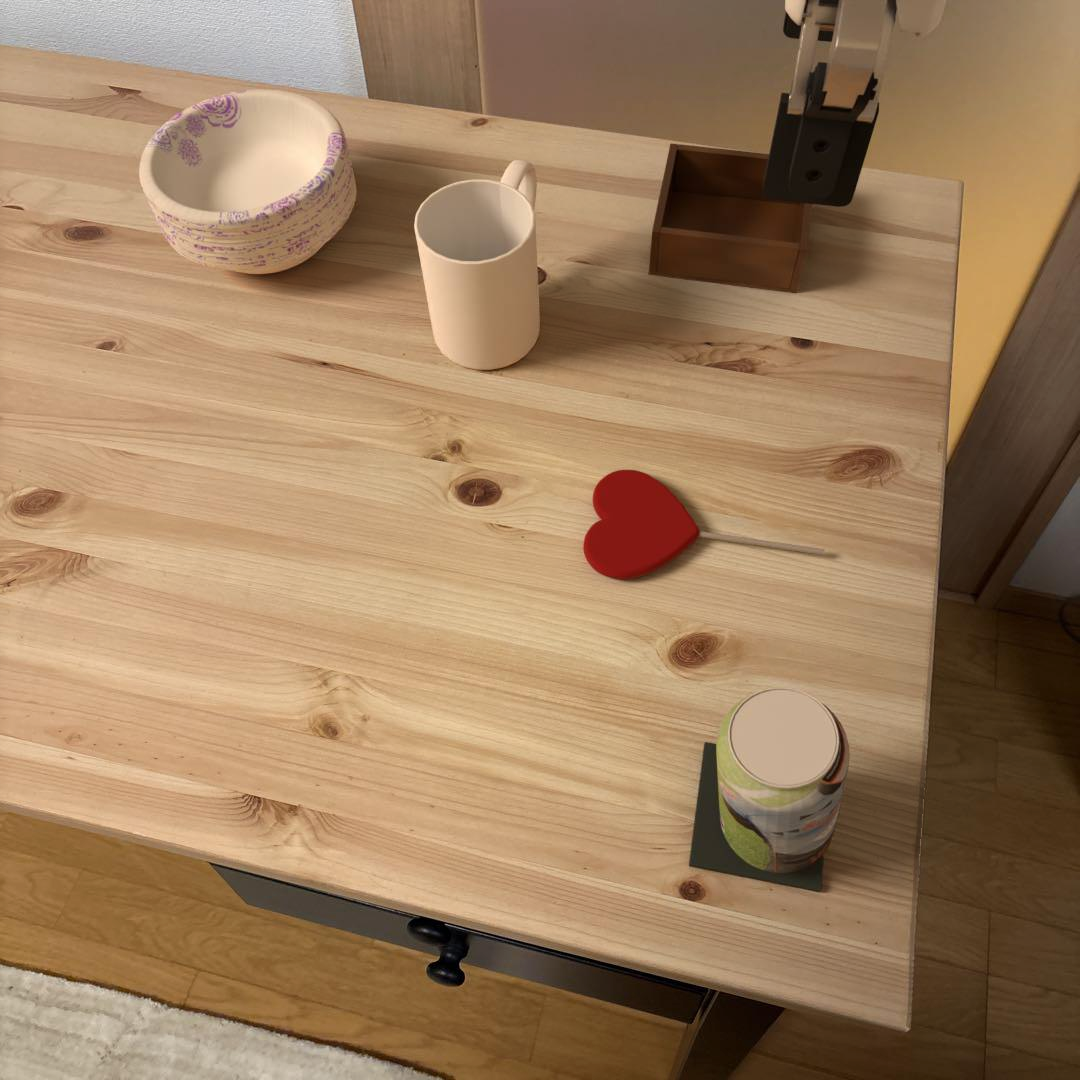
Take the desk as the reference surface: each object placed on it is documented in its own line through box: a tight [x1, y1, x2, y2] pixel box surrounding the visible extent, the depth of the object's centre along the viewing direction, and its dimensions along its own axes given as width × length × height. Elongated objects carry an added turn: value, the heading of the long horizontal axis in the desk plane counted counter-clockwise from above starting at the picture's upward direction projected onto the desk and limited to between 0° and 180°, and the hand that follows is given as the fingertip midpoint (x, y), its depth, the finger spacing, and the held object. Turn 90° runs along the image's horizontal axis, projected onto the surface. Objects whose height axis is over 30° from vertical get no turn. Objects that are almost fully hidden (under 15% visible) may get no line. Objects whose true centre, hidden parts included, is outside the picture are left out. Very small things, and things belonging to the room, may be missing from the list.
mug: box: [413, 159, 541, 371], centre depth 70 cm, size 12×8×10 cm, turn 156°
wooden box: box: [648, 142, 814, 294], centre depth 76 cm, size 11×10×4 cm
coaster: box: [688, 741, 824, 893], centre depth 55 cm, size 7×7×1 cm
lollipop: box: [582, 469, 825, 580], centre depth 64 cm, size 8×1×15 cm
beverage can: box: [715, 686, 851, 873], centre depth 50 cm, size 6×7×12 cm
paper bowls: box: [138, 88, 357, 275], centre depth 77 cm, size 15×15×8 cm
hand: (813, 112), depth 39 cm, fingers open, 9 cm apart
